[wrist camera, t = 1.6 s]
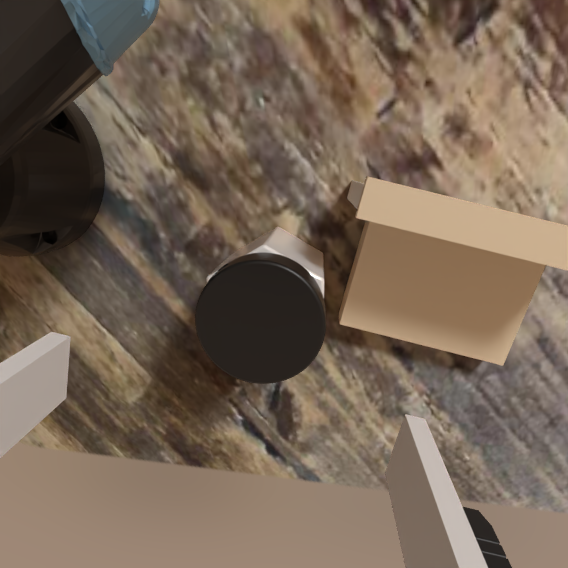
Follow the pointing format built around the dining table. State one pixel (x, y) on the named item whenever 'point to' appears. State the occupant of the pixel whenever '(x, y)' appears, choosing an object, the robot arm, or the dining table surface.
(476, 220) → the cleat board
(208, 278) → the jar
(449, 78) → the dining table surface
